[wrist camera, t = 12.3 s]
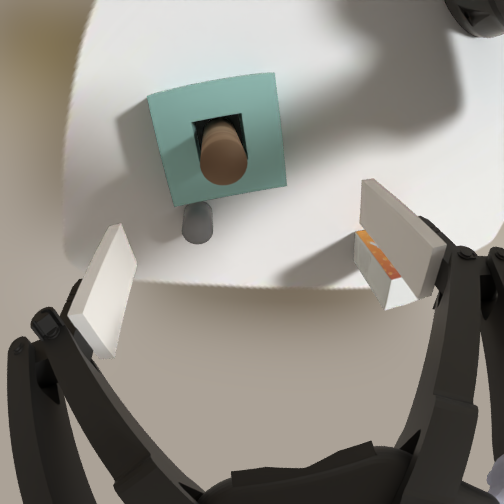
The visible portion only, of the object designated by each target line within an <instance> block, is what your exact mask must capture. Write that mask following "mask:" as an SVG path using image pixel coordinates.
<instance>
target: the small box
mask: <svg viewBox="0 0 504 504" xmlns="http://www.w3.org/2000/svg"><path fill="white" fill-rule="evenodd" d="M353 260H354V262H355V264H356V265H357V267H358V269H359V270H360V272H361V273H362V275H363V277H364V278H365V280H366V281H367V283H368V284H369V286H370V288H371V289H372V291H373V293H374V294H375V296H376V297H377V299H378V301H379V302H380V304H381V306H382V308H383V309H384V310H388V309H391V308H395V307H398V306H402V305H406V304H409V303H411V302H414V301H417V300H418V299H417V298H416V296H415V295H414V293H413V292H412V291H411V289H410V288H409V286H408V285H407V284H406V282H405V281H404V280H403V278H402V277H401V275H400V274H399V273H398V271H397V270H396V269H395V267H394V266H393V265H392V263H391V262H390V261H389V260H388V258H387V257H386V256H385V254H384V253H383V252H382V250H381V249H380V248H379V247H378V245H377V244H376V243H375V242H374V240H373V239H372V238H371V237H370V235H369V234H368V233H367V232H366V230H362V231H356V232H355V245H354V259H353ZM422 299H423V298H422ZM419 300H420V299H419Z"/></svg>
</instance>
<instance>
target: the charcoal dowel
mask: <svg viewBox="0 0 504 504" xmlns="http://www.w3.org/2000/svg"><path fill="white" fill-rule="evenodd" d="M182 234H183V237H184V238H185V239H186V240H187V241H188V242H190V243H193V244H202V243H205V242H207V241H208V240H209V239H210V238H211V236H212V234H213V221H212V209H211V207H210V206H209V205H208V204H207V203H205V202H203V201H201V202H196V203H191V204H188V205H187V207H186V208H185V212H184V219H183V226H182Z"/></svg>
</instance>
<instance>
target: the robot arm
mask: <svg viewBox="0 0 504 504" xmlns="http://www.w3.org/2000/svg"><path fill="white" fill-rule="evenodd" d="M445 2H446V4H447V6H448V8H449V10H450V12H451V13H452V15H453V16H454V18H455V19H456V21H457V22H458V23H459V24H460V25H461V26H462V27H463V28H464V29H465V30H466V31H467V32H469V33H470V34H472V35H474V36H477V37H483V38H493V37H496V36H499V35H502V34H504V0H445ZM360 224H361V226H362V227H363V228H364V229H365V230H366V232H367V233H368V234H369V235H370V237H371V238H372V239H373V240H374V242H375V243H376V244H377V245H378V247H379V248H380V249H381V250H382V252H383V253H384V254H385V256H386V257H387V258H388V260H389V261H390V262H391V263H392V265H393V266H394V267H395V269H396V270H397V271H398V273H399V274H400V275H401V277H402V278H403V280H404V281H405V282H406V284H407V285H408V286H409V288H410V289H411V291H412V292H413V293H414V295H415V296H416V298H417V299H418V300H419V299H422V298H425V297H428V296H431V295H432V292H433V289H434V286H436V287H437V289H438V290H439V293H438V295H437V298H436V301H435V304H434V306H433V309H435V313H434V319H433V325H432V330H431V335H430V340H429V344H428V349H427V353H426V358H425V362H424V366H423V370H422V374H421V377H420V381H419V385H418V388H417V392H416V395H415V398H414V401H413V405H412V408H411V411H410V414H409V417H408V420H407V422H406V425H405V428H404V430H403V432H402V434H401V435H400V437H399V439H398V441H397V443H396V445H395V447H394V448H393V447H386V446H373V444H372V441H369V442H366V443H363V444H360V445H357V446H353V447H350V448H347V449H344V450H340V451H338V452H336V453H334V454H332V455H330V456H328V457H327V458H325V459H323V460H321V461H319V462H317V463H315V464H313V465H311V466H309V467H306V468H274V467H263V468H257V469H248V470H241V471H231V478H229V479H226V480H224V481H222V482H219V483H218V484H216V485H214V486H213V487H211V488H210V489H209V490H207V491H206V492H205V491H204V490H203V489H201V488H200V487H199V486H198V485H197V484H196V483H195V482H193V481H192V480H191V479H189V478H188V477H187V476H186V475H185V474H184V473H183V472H181V470H180V469H179V468H178V467H177V466H175V464H174V463H173V462H172V461H171V460H170V459H169V458H168V457H167V456H166V455H165V454H164V453H163V451H162V450H161V449H160V448H159V447H158V446H157V445H156V444H155V442H154V441H153V440H152V439H151V438H150V437H149V435H148V434H147V433H146V432H145V431H144V429H143V428H142V427H141V426H140V425H139V423H138V422H137V421H136V420H135V418H134V417H133V416H132V415H131V413H130V412H129V411H128V410H127V408H126V407H125V406H124V404H123V403H122V401H121V400H120V399H119V397H118V396H117V394H116V393H115V392H114V390H113V389H112V387H111V386H110V385H109V383H108V382H107V380H106V379H105V377H104V376H103V374H102V373H101V371H100V370H99V368H98V367H97V365H96V364H95V362H94V361H93V360H92V354H93V351H94V353H95V354H96V355H97V356H98V358H99V359H110V358H114V357H115V353H116V348H117V343H118V339H119V334H120V330H121V325H122V321H123V317H124V313H125V309H126V305H127V301H128V297H129V293H130V289H131V285H132V282H133V279H134V275H135V271H136V268H137V265H138V263H137V261H136V259H135V256H134V254H133V252H132V249H131V247H130V244H129V242H128V239H127V237H126V234H125V232H124V229H123V227H122V224H121V223H120V224H116V225H112V226H109V227H108V229H107V231H106V233H105V235H104V236H103V238H102V240H101V242H100V244H99V246H98V248H97V250H96V252H95V254H94V256H93V258H92V260H91V262H90V264H89V267H88V269H87V271H86V273H85V275H84V277H83V279H79V280H78V281H77V282H76V283H75V285H74V286H73V287H72V289H71V292H70V294H69V296H68V298H67V302H66V303H65V305H64V307H63V310H62V312H61V314H60V316H59V315H58V314H57V312H56V311H55V309H53V307H46V308H43V309H41V310H40V311H39V312H37V313H36V314H35V316H34V317H33V318H32V321H31V329H32V330H33V331H34V332H35V334H36V335H37V336H38V337H39V339H40V340H38V341H35V342H33V343H31V342H30V341H29V340H28V339H27V338H26V337H23V336H22V337H19V338H17V339H16V340H14V341H13V342H12V344H11V346H10V348H9V350H8V363H7V396H8V416H9V428H10V437H11V445H12V452H13V458H14V464H15V469H16V475H17V480H18V484H19V488H20V493H21V496H22V500H23V504H97V503H96V501H95V499H94V496H93V494H92V491H91V488H90V486H89V484H88V480H87V478H86V475H85V472H84V469H83V466H82V463H81V460H80V457H79V454H78V451H77V447H76V443H75V440H74V437H73V432H72V428H71V425H70V420H69V416H68V412H67V408H66V403H65V398H66V400H67V402H68V403H69V406H70V408H71V410H72V411H73V413H74V415H75V417H76V419H77V421H78V423H79V424H80V426H81V428H82V430H83V431H84V433H85V435H86V437H87V438H88V440H89V442H90V443H91V445H92V447H93V448H94V450H95V451H96V453H97V454H98V456H99V457H100V459H101V461H102V462H103V464H104V465H105V467H106V468H107V469H108V471H109V472H110V474H111V475H112V477H113V478H114V480H115V483H114V485H113V486H114V489H115V491H116V492H117V494H118V496H119V497H120V498H121V500H122V501H123V502H124V503H125V504H504V249H503V248H499V247H492V248H491V249H490V251H489V254H488V256H477V254H476V253H475V252H474V251H473V250H472V249H470V248H468V247H465V246H456V245H455V244H454V243H453V242H452V241H451V240H450V239H449V238H448V237H446V236H445V235H444V234H443V233H442V232H441V231H440V230H439V229H438V228H437V227H436V226H435V225H434V224H433V223H432V222H430V221H429V220H428V219H426V218H424V217H422V216H417V215H416V214H415V213H413V212H412V211H411V210H410V209H409V208H408V207H407V206H406V205H404V204H403V203H402V202H401V201H400V200H399V199H398V198H396V197H395V196H394V195H393V194H392V193H390V192H389V191H388V190H387V189H386V188H384V187H383V186H382V185H381V184H380V183H378V182H377V181H376V180H375V179H366V180H362V185H361V208H360ZM480 332H481V336H482V341H483V347H484V353H485V359H486V366H487V373H488V381H489V390H490V402H491V419H492V445H493V455H494V461H495V463H494V465H493V467H492V470H491V471H490V472H489V474H488V475H487V483H488V484H489V485H490V489H489V491H488V492H485V491H483V490H481V489H479V488H476V487H474V486H472V485H470V484H468V483H466V482H464V481H462V477H463V474H464V471H465V467H466V464H467V461H468V457H469V454H470V450H471V446H472V442H473V438H474V433H475V428H476V424H477V418H478V407H477V406H476V405H474V404H473V397H474V391H475V384H476V376H477V367H478V356H479V343H480ZM64 396H65V398H64Z"/></svg>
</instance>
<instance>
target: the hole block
mask: <svg viewBox="0 0 504 504" xmlns="http://www.w3.org/2000/svg"><path fill="white" fill-rule="evenodd" d="M147 99H148V104H149V108H150V113H151V117H152V122H153V126H154V130H155V134H156V139H157V143H158V147H159V151H160V155H161V159H162V163H163V166H164V170H165V174H166V178H167V182H168V185H169V189H170V193H171V196H172V200H173V204H174V207H177V206H181V205H186V204H191V203H196V202H201V201H206V200H211V199H216V198H221V197H226V196H232V195H237V194H243V193H248V192H254V191H260V190H266V189H272V188H278V187H284V186H287V181H286V170H285V160H284V150H283V140H282V131H281V122H280V113H279V105H278V96H277V88H276V80H275V73H259V74H250V75H243V76H236V77H229V78H223V79H217V80H211V81H206V82H201V83H196V84H191V85H187V86H182V87H178V88H173V89H169V90H165V91H161V92H158V93H154V94H151V95H149V96H147ZM232 114H239V120H240V127H241V133H242V140H243V146H244V151H245V154H246V156H247V162H248V163H247V169H246V172H245V174H244V175H243V176H242V178H241V179H239V180H238V181H237V182H235V183H233V184H230V185H216V184H213V183H211V182H210V181H208V180H207V179H206V178H205V177H204V175H203V174H202V172H201V168H200V158H201V151H200V146H199V141H198V136H197V131H196V126H195V121H200V120H205V119H210V118H215V117H220V116H226V115H232Z"/></svg>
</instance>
